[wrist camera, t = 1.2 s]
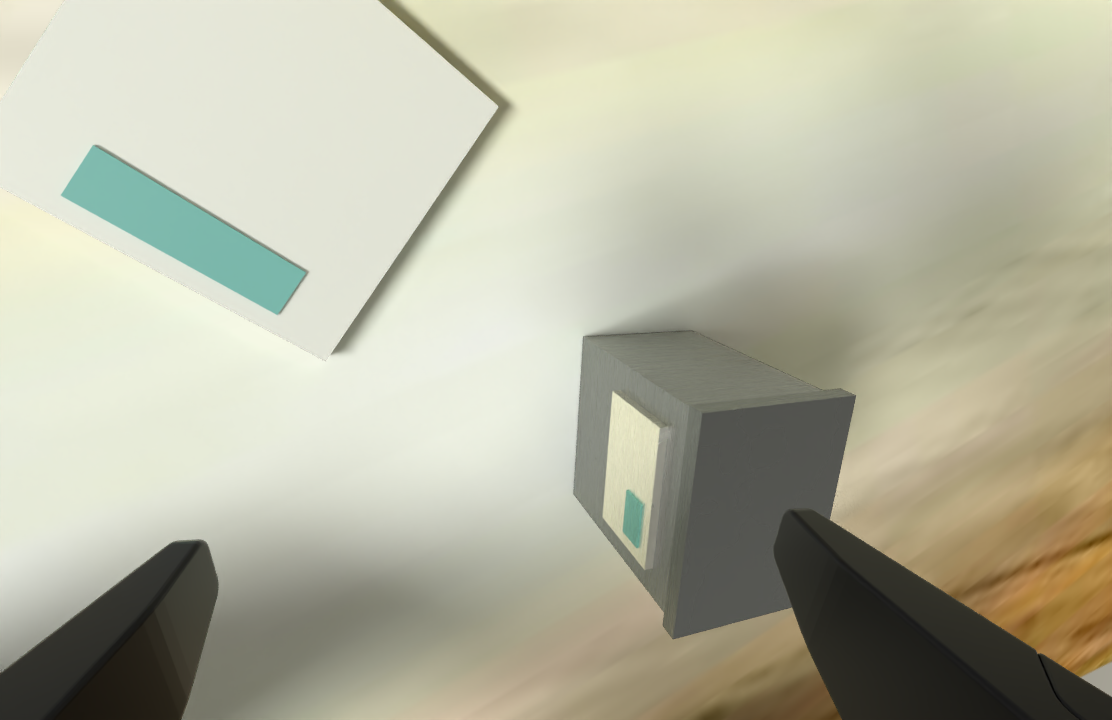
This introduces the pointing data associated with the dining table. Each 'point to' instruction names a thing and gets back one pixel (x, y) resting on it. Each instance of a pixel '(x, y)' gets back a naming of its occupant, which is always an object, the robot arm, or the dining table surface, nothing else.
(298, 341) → the pad
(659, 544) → the box
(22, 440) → the dining table surface
